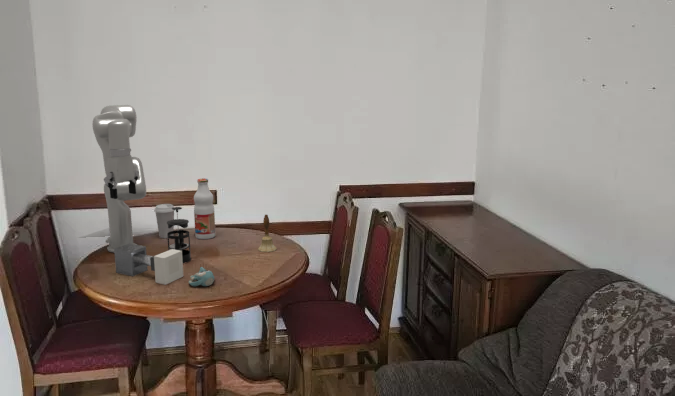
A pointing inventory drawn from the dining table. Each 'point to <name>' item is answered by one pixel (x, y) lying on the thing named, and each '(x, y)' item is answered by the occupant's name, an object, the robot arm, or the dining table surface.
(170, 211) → the coffee cup
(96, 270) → the dining table surface
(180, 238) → the french press
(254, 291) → the dining table surface
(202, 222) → the fruit juice
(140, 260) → the rod
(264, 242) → the hand bell
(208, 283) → the stuffed animal
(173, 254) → the socket
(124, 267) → the grey metal block
